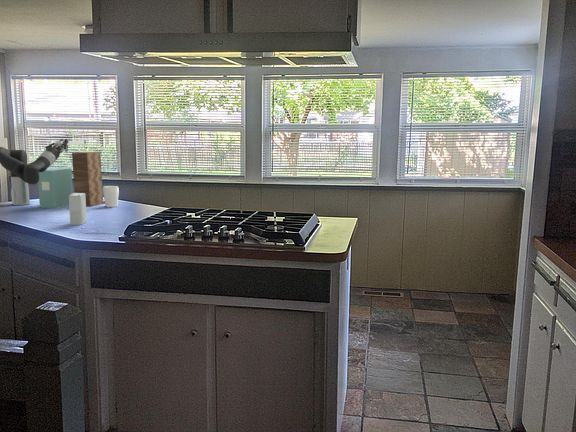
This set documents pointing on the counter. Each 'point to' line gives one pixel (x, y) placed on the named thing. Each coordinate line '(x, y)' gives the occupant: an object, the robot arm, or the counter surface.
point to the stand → (88, 176)
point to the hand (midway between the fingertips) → (65, 140)
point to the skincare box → (77, 208)
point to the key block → (55, 187)
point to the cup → (111, 195)
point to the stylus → (73, 142)
